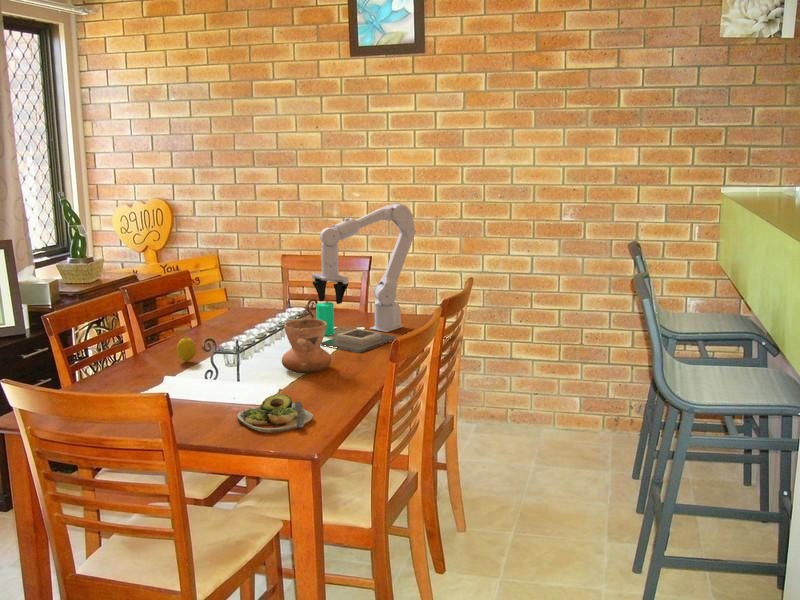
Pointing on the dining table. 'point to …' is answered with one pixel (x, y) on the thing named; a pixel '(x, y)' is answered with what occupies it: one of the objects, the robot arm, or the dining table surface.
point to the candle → (326, 315)
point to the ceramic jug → (306, 346)
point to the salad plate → (275, 415)
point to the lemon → (186, 349)
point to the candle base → (358, 340)
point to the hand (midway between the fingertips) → (330, 302)
